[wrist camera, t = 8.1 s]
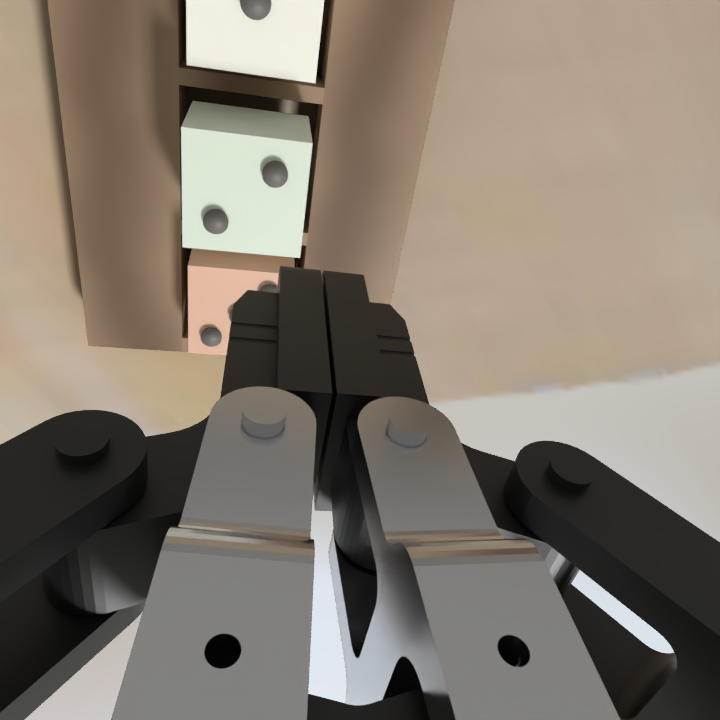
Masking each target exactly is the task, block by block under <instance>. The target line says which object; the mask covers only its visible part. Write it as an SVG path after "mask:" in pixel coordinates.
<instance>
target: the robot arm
mask: <svg viewBox="0 0 720 720" xmlns="http://www.w3.org/2000/svg"><path fill="white" fill-rule="evenodd" d="M313 495H314V502H315V510H320V511H332V513H333V526H334V528H333V533H332V538H331V542H330V547H329V561H330V568H331V574H332V581H333V588H334V594H335V601H336V607H337V613H338V621H339V627H340V633H341V640H342V646H343V653H344V660H345V667H346V681H347V690H346V704H345V703H341V702H337V701H333V700H330V699H326V698H322V697H318V696H314V695H311V694H308V685H309V663H310V642H311V621H312V598H313V579H314V578H313V577H314V553H315V552H314V550H315V548H314V540H313V539H310V531H311V514H312V500H313ZM579 570H581V571H582V572H583V573H585V574H586V575H587V576H589V577H590V578H591V579H592V580H594V581H595V582H596V583H597V584H599V585H600V586H601V587H602V588H604V589H605V590H606V591H607V592H609V593H610V594H611V595H612V596H614V597H615V598H616V599H617V600H619V601H620V602H621V603H622V604H624V605H625V606H626V607H627V608H629V609H630V610H631V611H633V612H634V613H635V614H636V615H637V616H639V617H640V618H641V619H642V620H644V621H645V622H646V623H648V624H649V625H650V626H651V627H653V628H654V629H655V630H656V631H658V632H659V633H660V634H661V635H662V636H663V637H664V638H665V639H666V640H667V641H668V643H669V644H670V645H671V647H672V648H673V650H674V652H675V653H671V654H666V653H661V652H658V651H655V650H653V649H651V648H649V647H648V646H647V645H645V644H644V643H642V642H641V641H640V640H639V639H638V638H636V637H635V636H634V635H633V634H632V633H630V632H629V631H628V630H627V629H625V628H624V627H623V626H622V625H620V624H619V623H618V622H617V621H616V620H614V619H613V618H612V617H611V616H609V615H608V614H607V613H606V612H605V611H603V610H602V609H601V608H600V607H599V606H597V605H596V604H595V603H594V602H592V601H591V600H590V599H589V598H588V597H586V596H585V595H584V594H583V593H581V592H580V591H579V590H578V589H577V588H575V587H574V586H573V585H572V584H571V583H572V581H573V580H574V578H575V576H576V575H577V573H578V571H579ZM142 611H143V613H142V616H141V620H140V623H139V627H138V630H137V633H136V637H135V640H134V643H133V647H132V650H131V654H130V657H129V661H128V664H127V667H126V671H125V674H124V678H123V681H122V684H121V688H120V691H119V695H118V698H117V701H116V705H115V708H114V712H113V715H112V719H111V720H720V542H718V541H717V540H715V539H713V538H712V537H711V536H709V535H708V534H706V533H705V532H704V531H702V530H700V529H699V528H697V527H696V526H695V525H693V524H692V523H690V522H689V521H687V520H686V519H684V518H683V517H681V516H680V515H678V514H677V513H675V512H674V511H672V510H671V509H669V508H668V507H667V506H665V505H664V504H662V503H661V502H659V501H658V500H656V499H655V498H653V497H652V496H650V495H649V494H647V493H646V492H644V491H643V490H641V489H640V488H638V487H637V486H635V485H634V484H633V483H631V482H629V481H628V480H627V479H625V478H624V477H622V476H621V475H619V474H618V473H616V472H615V471H613V470H612V469H610V468H609V467H607V466H606V465H604V464H603V463H601V462H600V461H598V460H597V459H596V458H594V457H592V456H591V455H589V454H588V453H586V452H584V451H582V450H580V449H578V448H576V447H573V446H571V445H568V444H563V443H560V442H554V441H539V442H534V443H530V444H529V445H527V446H525V447H524V448H523V449H522V450H520V452H519V454H518V456H517V458H516V460H515V461H512V460H508V459H505V458H501V457H498V456H495V455H491V454H488V453H485V452H482V451H479V450H476V449H473V448H470V447H468V446H466V445H464V444H462V443H461V442H460V440H459V437H458V435H457V433H456V430H455V428H454V427H453V425H452V423H451V422H450V421H449V419H448V418H447V417H446V416H445V415H444V414H442V413H441V412H440V411H438V410H437V409H436V408H434V407H432V406H430V405H429V402H428V399H427V395H426V392H425V388H424V385H423V381H422V378H421V375H420V371H419V368H418V364H417V361H416V357H415V356H414V350H413V347H412V343H411V342H410V336H409V333H408V330H407V326H406V323H405V320H404V319H403V318H402V317H401V316H400V315H399V314H398V313H397V312H396V311H395V310H394V309H393V307H392V306H391V305H390V304H383V303H373V302H370V301H369V297H368V292H367V287H366V283H365V278H364V275H362V274H353V273H344V272H335V271H326V270H323V272H322V275H321V270H315V269H306V268H297V267H288V266H280V269H279V276H278V285H277V293H274V292H264V291H254V290H247V291H246V292H245V293H244V294H243V295H242V296H241V297H240V298H239V299H238V300H237V301H236V302H235V303H234V304H233V312H232V319H231V326H230V333H229V340H228V348H227V355H226V362H225V369H224V376H223V383H222V391H221V397H220V399H219V400H218V401H217V402H216V403H215V405H214V406H213V407H212V410H211V412H210V415H209V416H208V417H207V418H206V419H204V420H202V421H201V422H199V423H198V424H195V425H193V426H191V427H189V428H186V429H183V430H180V431H176V432H171V433H166V434H160V435H154V436H148V437H145V435H144V433H143V431H142V430H141V429H140V427H139V426H138V425H137V424H136V423H134V422H133V421H132V420H130V419H128V418H127V417H125V416H122V415H119V414H117V413H113V412H108V411H101V410H83V411H74V412H70V413H65V414H62V415H59V416H56V417H53V418H51V419H49V420H47V421H44V422H43V423H41V424H39V425H37V426H35V427H33V428H31V429H29V430H27V431H26V432H24V433H22V434H20V435H18V436H16V437H14V438H12V439H10V440H9V441H7V442H5V443H3V444H1V445H0V720H24V719H25V718H26V717H28V716H29V715H30V714H31V713H32V712H33V711H34V710H35V709H36V708H38V707H39V706H40V705H41V704H42V703H43V702H44V701H45V700H46V699H48V698H49V697H50V696H51V695H52V694H53V693H54V692H55V691H56V690H57V689H59V688H60V687H61V686H62V685H63V684H64V683H65V682H66V681H68V680H69V679H70V678H71V677H72V676H73V675H74V674H75V673H76V672H78V671H79V670H80V669H81V668H82V667H83V666H84V665H85V664H86V663H88V661H90V660H91V659H92V658H93V657H94V656H95V655H96V654H97V653H99V652H100V651H101V650H102V649H103V648H104V647H105V646H106V645H107V644H108V643H110V642H111V641H112V640H113V639H114V638H115V637H116V636H117V635H119V634H120V633H121V632H122V631H123V630H124V629H125V628H126V627H127V626H129V625H130V624H131V623H132V622H133V621H134V620H135V619H136V618H137V617H138V616H139V615H140V614H141V612H142Z"/></svg>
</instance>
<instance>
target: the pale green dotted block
mask: <svg viewBox="0 0 720 720" xmlns="http://www.w3.org/2000/svg"><path fill="white" fill-rule="evenodd" d="M312 145H313V142H312V136H311V129H310V123H309V116H304V115H296V114H289V113H281V112H274V111H266V110H259V109H251V108H243V107H236V106H228V105H221V104H213V103H206V102H198V101H192V103H191V106H190V108H189V110H188V112H187V115H186V117H185V119H184V121H183V124H182V126H181V162H182V247H184V248H195V249H206V250H217V251H228V252H239V253H250V254H261V255H272V256H282V257H293V258H300V255H301V246H302V236H303V227H304V218H305V209H306V200H307V191H308V182H309V172H310V163H311V154H312Z"/></svg>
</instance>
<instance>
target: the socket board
mask: <svg viewBox="0 0 720 720" xmlns="http://www.w3.org/2000/svg"><path fill="white" fill-rule="evenodd" d="M47 2H48V11H49V19H50V27H51V36H52V44H53V53H54V61H55V69H56V78H57V86H58V95H59V103H60V111H61V120H62V128H63V137H64V145H65V153H66V162H67V170H68V178H69V187H70V195H71V204H72V212H73V220H74V229H75V237H76V246H77V254H78V262H79V271H80V279H81V288H82V296H83V304H84V313H85V321H86V329H87V338H88V346H100V347H116V348H132V349H148V350H164V351H180V352H188V307H187V248H184V247H182V162H181V126H182V124H183V121H184V119H185V117H186V86H191V87H198V88H205V89H213V90H220V91H227V92H235V93H242V94H249V95H257V96H264V97H271V98H279V99H286V100H293V101H301V102H308V103H315V104H318V110H317V119H316V128H315V137H314V146H313V156H312V165H311V174H310V183H309V192H308V201H307V210H306V213H305V218H304V227H303V236H302V245H303V246H302V255H301V264H300V268H306V269H315V270H321V275H322V272H323V270H326V271H335V272H344V273H353V274H362V275H364V278H365V283H366V287H367V292H368V297H369V301H370V302H373V303H383V304H390V302H391V298H392V293H393V288H394V283H395V279H396V274H397V269H398V265H399V260H400V255H401V250H402V246H403V241H404V236H405V232H406V227H407V222H408V217H409V213H410V208H411V203H412V198H413V194H414V189H415V184H416V180H417V175H418V170H419V165H420V161H421V156H422V151H423V147H424V142H425V137H426V132H427V128H428V123H429V118H430V114H431V109H432V104H433V99H434V95H435V90H436V85H437V80H438V76H439V71H440V66H441V62H442V57H443V52H444V47H445V43H446V38H447V33H448V29H449V24H450V19H451V14H452V10H453V5H454V0H330V1H329V11H328V20H327V29H326V38H325V47H324V56H323V65H322V74H321V76H320V75H316V83H309V82H302V81H295V80H288V79H281V78H274V77H267V76H260V75H253V74H246V73H239V72H232V71H225V70H218V69H211V68H204V67H197V66H190V65H187V56H186V18H185V0H47Z"/></svg>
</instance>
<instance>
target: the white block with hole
mask: <svg viewBox="0 0 720 720" xmlns="http://www.w3.org/2000/svg"><path fill="white" fill-rule="evenodd" d="M323 8H324V0H186V54H187V65H190V66H197V67H204V68H211V69H218V70H225V71H232V72H239V73H246V74H253V75H260V76H267V77H274V78H281V79H288V80H295V81H302V82H309V83H316V74H317V65H318V55H319V46H320V37H321V27H322V18H323Z"/></svg>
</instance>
